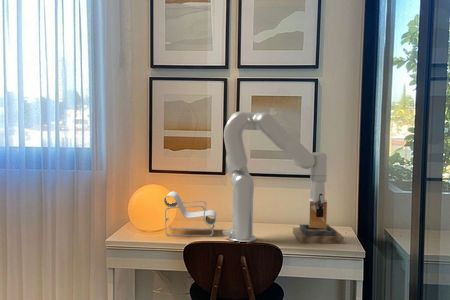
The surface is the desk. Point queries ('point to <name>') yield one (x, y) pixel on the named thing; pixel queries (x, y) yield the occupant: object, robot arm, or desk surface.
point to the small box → (317, 221)
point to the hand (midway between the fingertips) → (317, 215)
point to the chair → (190, 213)
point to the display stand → (317, 235)
